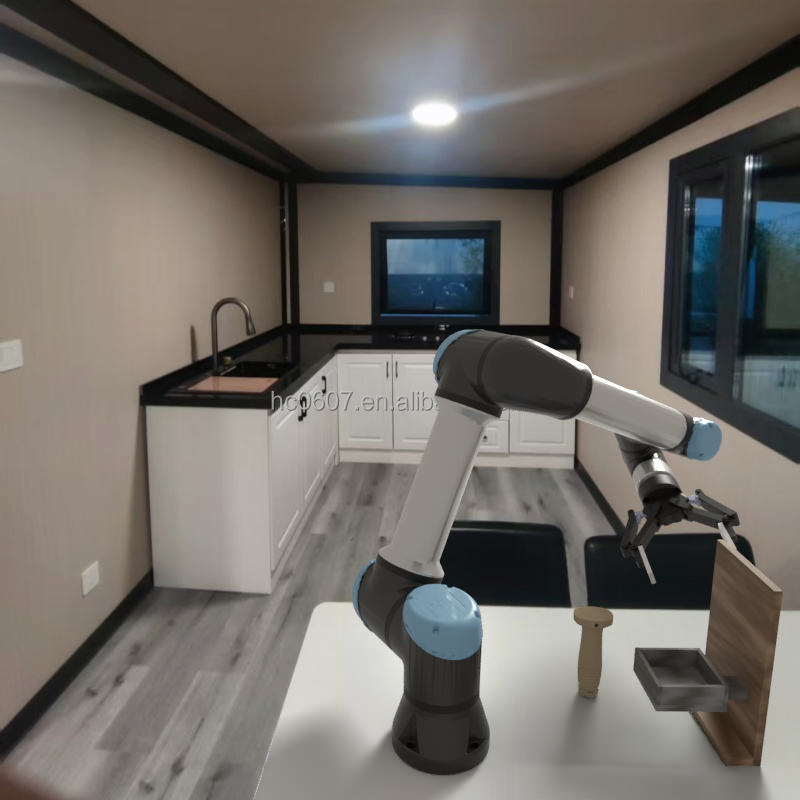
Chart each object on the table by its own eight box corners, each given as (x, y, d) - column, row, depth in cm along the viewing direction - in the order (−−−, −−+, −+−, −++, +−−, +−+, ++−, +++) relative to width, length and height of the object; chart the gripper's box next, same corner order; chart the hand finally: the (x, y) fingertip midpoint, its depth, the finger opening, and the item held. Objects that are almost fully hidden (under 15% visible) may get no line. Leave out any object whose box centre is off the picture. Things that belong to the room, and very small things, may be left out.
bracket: (651, 765, 102) (666, 590, 96) (614, 690, 120) (626, 538, 114) (760, 766, 102) (783, 591, 96) (708, 690, 120) (724, 539, 114)
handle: (610, 702, 116) (616, 621, 113) (572, 701, 117) (577, 620, 114) (603, 685, 121) (608, 606, 118) (566, 684, 121) (571, 606, 118)
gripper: (728, 482, 131) (776, 561, 112) (599, 522, 137) (624, 602, 119) (719, 452, 128) (767, 527, 109) (588, 494, 134) (612, 572, 115)
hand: (693, 566), depth 114 cm, fingers open, 13 cm apart
